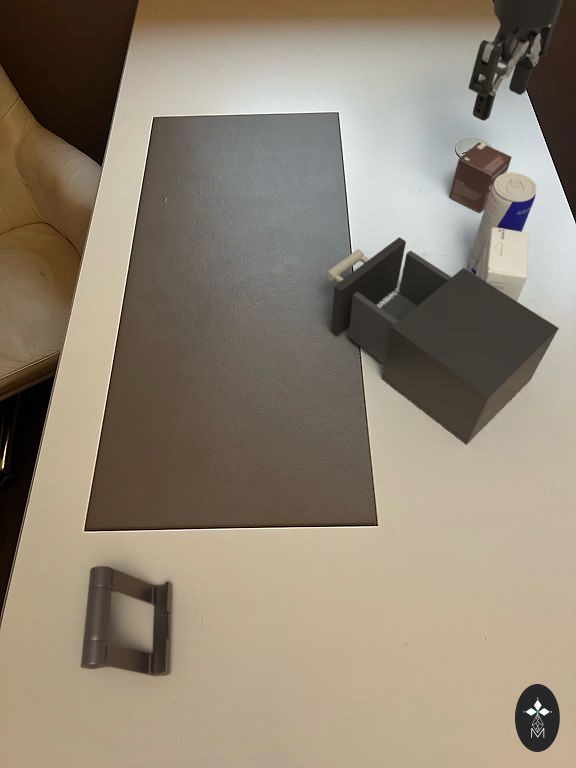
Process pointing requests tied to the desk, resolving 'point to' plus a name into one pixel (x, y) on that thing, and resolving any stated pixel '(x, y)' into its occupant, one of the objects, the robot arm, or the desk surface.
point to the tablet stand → (98, 616)
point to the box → (477, 175)
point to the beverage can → (503, 211)
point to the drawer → (380, 294)
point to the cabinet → (465, 353)
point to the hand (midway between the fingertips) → (498, 104)
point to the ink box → (505, 261)
